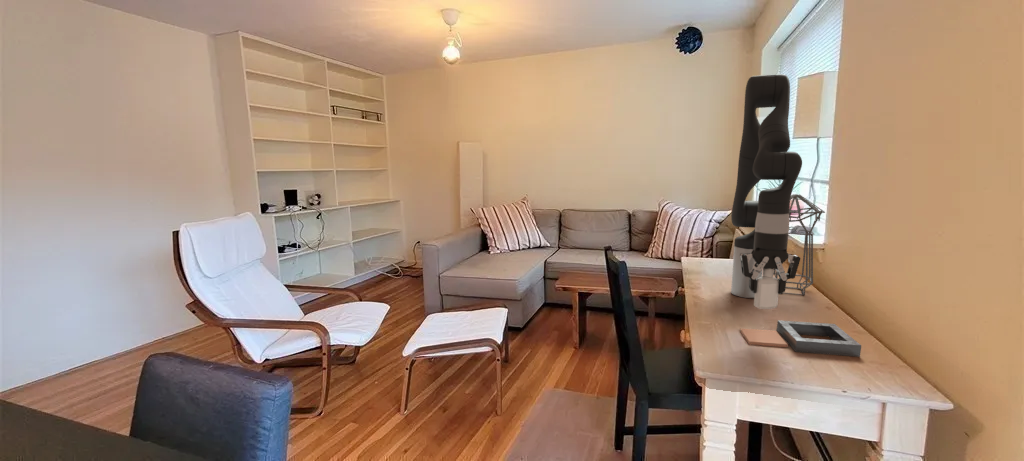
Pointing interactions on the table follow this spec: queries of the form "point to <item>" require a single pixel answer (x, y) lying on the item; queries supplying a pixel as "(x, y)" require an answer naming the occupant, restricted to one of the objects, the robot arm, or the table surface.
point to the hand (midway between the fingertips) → (766, 292)
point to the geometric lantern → (805, 240)
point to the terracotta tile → (763, 337)
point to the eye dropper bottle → (767, 290)
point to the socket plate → (836, 346)
